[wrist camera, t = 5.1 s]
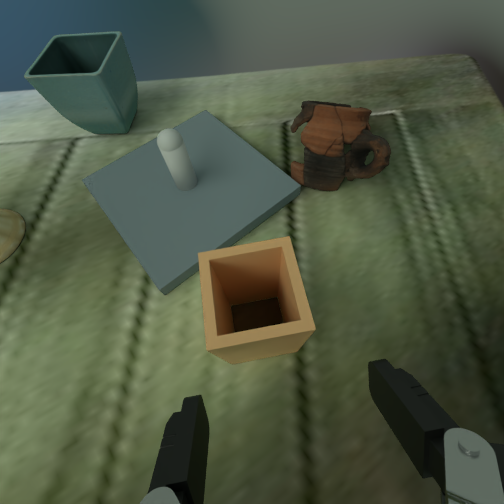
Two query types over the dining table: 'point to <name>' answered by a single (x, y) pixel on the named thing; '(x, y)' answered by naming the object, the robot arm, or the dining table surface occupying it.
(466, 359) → the dining table surface
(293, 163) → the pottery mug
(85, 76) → the flower pot
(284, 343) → the collar
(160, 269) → the post board
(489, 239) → the dining table surface
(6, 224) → the hand bell
